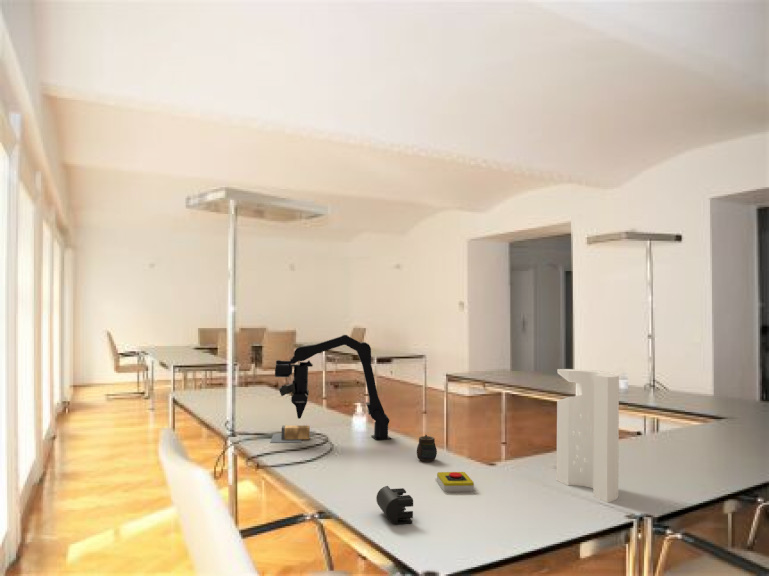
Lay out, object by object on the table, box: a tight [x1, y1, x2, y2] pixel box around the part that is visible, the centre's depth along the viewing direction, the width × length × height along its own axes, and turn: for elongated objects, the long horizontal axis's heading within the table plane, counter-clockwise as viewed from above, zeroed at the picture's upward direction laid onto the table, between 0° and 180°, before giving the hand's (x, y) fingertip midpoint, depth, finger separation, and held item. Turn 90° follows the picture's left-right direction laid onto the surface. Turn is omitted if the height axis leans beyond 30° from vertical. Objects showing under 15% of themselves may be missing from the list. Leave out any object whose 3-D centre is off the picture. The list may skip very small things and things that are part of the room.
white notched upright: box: [555, 368, 620, 503], centre depth 169 cm, size 35×11×21 cm
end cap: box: [375, 485, 414, 526], centre depth 142 cm, size 10×7×7 cm
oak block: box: [281, 425, 311, 440], centre depth 225 cm, size 4×4×11 cm
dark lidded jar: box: [416, 434, 438, 463], centre depth 197 cm, size 7×8×10 cm
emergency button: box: [435, 471, 476, 495], centre depth 169 cm, size 9×4×15 cm
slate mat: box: [269, 433, 303, 444], centre depth 225 cm, size 12×14×1 cm
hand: (299, 416), depth 226 cm, fingers open, 9 cm apart
